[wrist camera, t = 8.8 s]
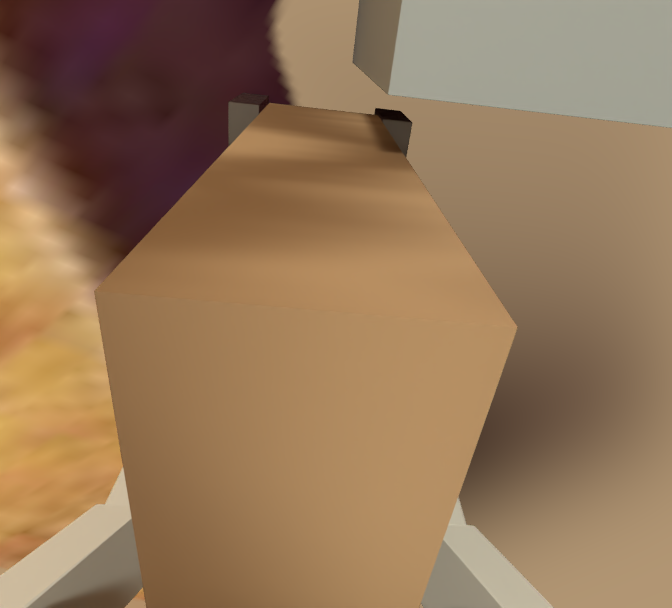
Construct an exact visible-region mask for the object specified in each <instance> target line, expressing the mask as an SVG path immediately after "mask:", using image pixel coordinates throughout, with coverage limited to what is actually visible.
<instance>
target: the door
mask: <svg viewBox="0 0 672 608" xmlns="http://www.w3.org/2000/svg"><path fill="white" fill-rule="evenodd" d="M94 293H95V299H96V305H97V311H98V317H99V323H100V329H101V335H102V342H103V348H104V354H105V360H106V366H107V372H108V378H109V384H110V390H111V396H112V402H113V408H114V414H115V420H116V426H117V433H118V439H119V445H120V451H121V457H122V463H123V469H124V475H125V481H126V487H127V493H128V499H129V505H130V511H131V517H132V524H133V530H134V536H135V542H136V548H137V554H138V560H139V566H140V572H141V578H142V584H143V590H144V596H145V602H146V608H419V606H420V604H421V601H422V598H423V595H424V593H425V590H426V587H427V584H428V581H429V578H430V575H431V573H432V570H433V567H434V564H435V561H436V558H437V556H438V553H439V550H440V547H441V544H442V541H443V538H444V536H445V533H446V530H447V527H448V524H449V521H450V519H451V516H452V513H453V510H454V507H455V504H456V502H457V499H458V496H459V493H460V490H461V487H462V484H463V482H464V479H465V476H466V473H467V470H468V467H469V464H470V462H471V459H472V456H473V453H474V450H475V447H476V445H477V442H478V439H479V436H480V433H481V430H482V427H483V425H484V422H485V419H486V416H487V413H488V411H489V407H490V405H491V402H492V399H493V396H494V393H495V390H496V388H497V385H498V382H499V379H500V376H501V374H502V371H503V368H504V365H505V362H506V359H507V356H508V354H509V351H510V348H511V345H512V342H513V339H514V337H515V334H516V331H517V328H518V327H517V326H516V324H515V322H514V321H513V319H511V316H510V315H509V313H508V312H507V311H506V309H505V307H504V306H503V304H502V303H501V302H500V300H499V298H498V297H497V295H496V294H495V292H494V291H493V289H492V288H491V286H490V285H489V283H488V282H487V280H486V279H485V277H484V275H483V274H482V273H481V271H480V269H479V268H478V266H477V265H476V263H475V262H474V260H473V259H472V257H471V256H470V254H469V253H468V251H467V250H466V248H465V247H464V245H463V244H462V242H461V241H460V239H459V238H458V236H457V234H456V233H455V231H454V230H453V228H452V227H451V225H450V224H449V222H448V221H447V219H446V218H445V216H444V215H443V213H442V212H441V210H440V209H439V207H438V206H437V204H436V203H435V201H434V200H433V198H432V197H431V195H430V194H429V192H428V191H427V189H426V187H425V186H424V184H423V183H422V181H421V180H420V179H419V177H418V175H417V174H416V172H415V171H414V169H413V168H412V166H411V165H410V164H409V162H408V160H407V159H406V157H405V156H404V154H403V153H402V151H401V149H400V148H399V146H398V145H397V143H396V142H395V140H394V139H393V137H392V136H391V134H390V133H389V131H388V130H387V128H386V127H385V125H384V124H383V122H382V121H381V119H380V118H379V116H378V115H371V114H362V113H353V112H345V111H336V110H327V109H318V108H309V107H301V106H292V105H283V104H274V103H269V104H268V105H267V106H266V107H265V108H264V109H263V110H262V112H261V113H260V114H259V115H258V116H257V117H256V118H255V119H254V120H253V121H252V122H251V123H250V124H249V125H248V127H247V128H246V129H245V130H244V131H243V132H242V133H241V134H240V135H239V136H238V137H237V138H236V139H235V141H234V142H233V143H232V144H231V145H230V146H229V147H228V148H227V149H226V150H225V151H224V152H223V153H222V154H221V156H220V157H219V158H218V159H217V160H216V161H215V162H214V163H213V164H212V165H211V166H210V167H209V168H208V170H207V171H206V172H205V173H204V174H203V175H202V176H201V177H200V178H199V179H198V180H197V181H196V182H195V183H194V185H193V186H192V187H191V188H190V189H189V190H188V191H187V192H186V193H185V194H184V195H183V196H182V197H181V199H180V200H179V201H178V202H177V203H176V204H175V205H174V206H173V207H172V208H171V209H170V210H169V211H168V212H167V214H166V215H165V216H164V217H163V218H162V219H161V220H160V221H159V222H158V223H157V224H156V225H155V226H154V228H153V229H152V230H151V231H150V232H149V233H148V234H147V235H146V236H145V237H144V238H143V239H142V240H141V241H140V243H139V244H138V245H137V246H136V247H135V248H134V249H133V250H132V251H131V252H130V253H129V254H128V255H127V257H126V258H125V259H124V260H123V261H122V262H121V263H120V264H119V265H118V266H117V267H116V268H115V269H114V271H113V272H112V273H111V274H110V275H109V276H108V277H107V278H106V279H105V280H104V281H103V282H102V283H101V284H100V286H99V287H98V288H97V289H96V290H95V291H94Z"/></svg>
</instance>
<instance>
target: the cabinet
mask: <svg viewBox="0 0 672 608" xmlns="http://www.w3.org/2000/svg"><path fill="white" fill-rule="evenodd" d="M353 63H354V64H355V65H356V66H357V67H358V68H359V69H361V70H362V71H363V72H364V73H365V74H366V75H367V76H368V77H369V78H370V79H371V80H372V81H374V82H375V83H376V84H377V85H378V86H379V87H380V88H381V89H382V90H384V91H385V92H386V93H387V94H388V95H394V96H403V97H412V98H420V99H429V100H438V101H446V102H454V103H463V104H472V105H481V106H489V107H497V108H506V109H515V110H524V111H532V112H541V113H549V114H557V115H566V116H575V117H584V118H592V119H601V120H609V121H617V122H626V123H634V124H643V125H652V126H660V127H669V128H672V0H359V9H358V18H357V28H356V36H355V45H354V55H353Z"/></svg>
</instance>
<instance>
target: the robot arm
mask: <svg viewBox="0 0 672 608" xmlns="http://www.w3.org/2000/svg"><path fill="white" fill-rule="evenodd" d="M142 587H143V584H142V578H141V572H140V566H139V560H138V554H137V548H136V542H135V536H134V530H133V524H132V517H131V511H130V505H129V499H128V493H127V487H126V481H125V475H124V469H123V468H122V470H121V472H120V474H119V476H118V478H117V480H116V482H115V484H114V486H113V488H112V490H111V493H110V495H109V497H108V499H107V501H106V503H105V504H96V505H95V506H93V507H92V508H90V509H89V510H88V511H86V512H85V513H84V514H82V515H81V516H80V517H78V518H77V519H76V520H74V521H73V522H72V523H70V524H69V525H68V526H66V527H65V528H64V529H62V530H61V531H60V532H58V533H57V534H56V535H54V536H53V537H52V538H50V539H49V540H47V541H46V542H45V543H43V544H42V545H41V546H39V547H38V548H37V549H35V550H34V551H33V552H31V553H30V554H29V555H27V556H26V557H25V558H23V559H22V560H21V561H19V562H18V563H17V564H15V565H14V566H13V567H11V568H10V569H8V570H7V571H6V572H4V573H3V574H2V575H1V576H0V608H124V607H125V606H126V605H127V604H128V603H129V602H130V601H131V600H132V599H133V598H134V596H135V595H136V594H137V593H138V592H139V591H140V590H141V589H142ZM421 604H422V606H423V607H424V608H554V607H553V606H552V605H551V604H550V603H549V602H548V601H547V600H546V599H545V598H544V597H543V596H542V595H541V594H540V593H539V592H538V591H537V590H536V589H535V588H534V587H533V586H532V585H531V584H530V583H529V582H528V581H527V580H526V579H525V577H523V575H522V574H521V573H520V572H519V571H518V570H517V569H516V568H515V567H514V566H513V565H512V564H511V563H510V562H509V561H508V560H507V559H506V558H505V557H504V556H503V555H502V554H501V553H500V552H499V551H498V550H497V549H496V548H495V547H494V545H492V543H491V542H490V541H489V540H488V539H487V538H486V537H485V536H484V535H483V534H482V533H481V532H480V531H479V530H478V529H477V528H476V527H475V526H472V525H467V524H466V521H465V517H464V514H463V510H462V507H461V504H460V500H459V497H458V499H457V502H456V504H455V507H454V510H453V513H452V516H451V519H450V521H449V524H448V527H447V530H446V533H445V536H444V538H443V541H442V544H441V547H440V550H439V553H438V556H437V558H436V561H435V564H434V567H433V570H432V573H431V575H430V578H429V581H428V584H427V587H426V590H425V593H424V595H423V598H422V601H421Z"/></svg>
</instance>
